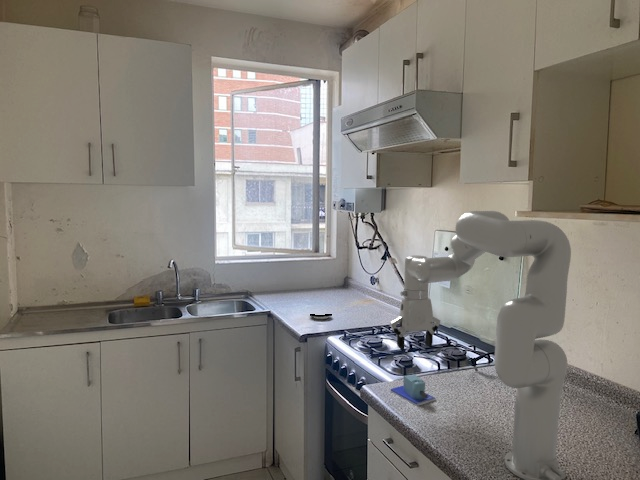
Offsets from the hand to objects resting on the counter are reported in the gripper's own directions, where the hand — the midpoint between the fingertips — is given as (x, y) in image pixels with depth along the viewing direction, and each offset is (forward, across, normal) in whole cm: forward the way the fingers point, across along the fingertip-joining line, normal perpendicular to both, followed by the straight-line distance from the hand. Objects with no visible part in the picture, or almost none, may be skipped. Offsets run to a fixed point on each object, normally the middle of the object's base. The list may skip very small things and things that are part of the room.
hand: (414, 347), depth 150 cm
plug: (+16, 0, -1) cm, 16 cm away
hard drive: (+17, 0, +1) cm, 17 cm away
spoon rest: (+14, -4, +104) cm, 105 cm away
